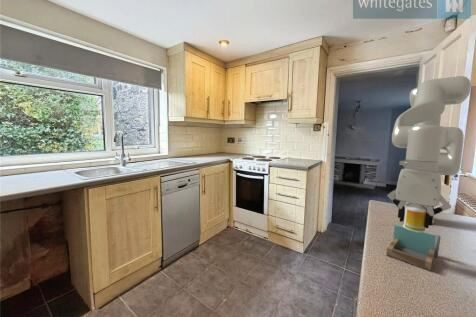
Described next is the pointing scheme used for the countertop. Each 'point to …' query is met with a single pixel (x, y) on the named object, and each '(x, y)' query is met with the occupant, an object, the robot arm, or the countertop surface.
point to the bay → (410, 255)
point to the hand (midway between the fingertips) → (414, 223)
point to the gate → (417, 240)
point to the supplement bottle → (414, 217)
